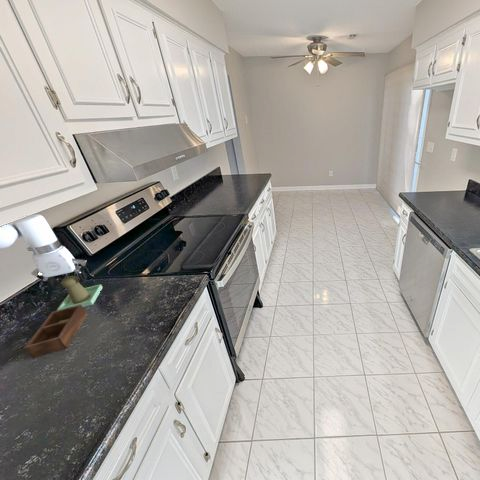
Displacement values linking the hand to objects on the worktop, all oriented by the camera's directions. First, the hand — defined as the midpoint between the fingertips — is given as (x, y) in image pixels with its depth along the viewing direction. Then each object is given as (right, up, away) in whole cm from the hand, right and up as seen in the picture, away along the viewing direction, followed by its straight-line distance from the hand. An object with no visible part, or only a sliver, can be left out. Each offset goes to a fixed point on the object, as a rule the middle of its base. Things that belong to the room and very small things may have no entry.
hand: (70, 283), depth 103 cm
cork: (+1, -7, +4) cm, 9 cm away
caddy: (+9, -16, -12) cm, 22 cm away
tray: (+1, -8, +4) cm, 9 cm away
